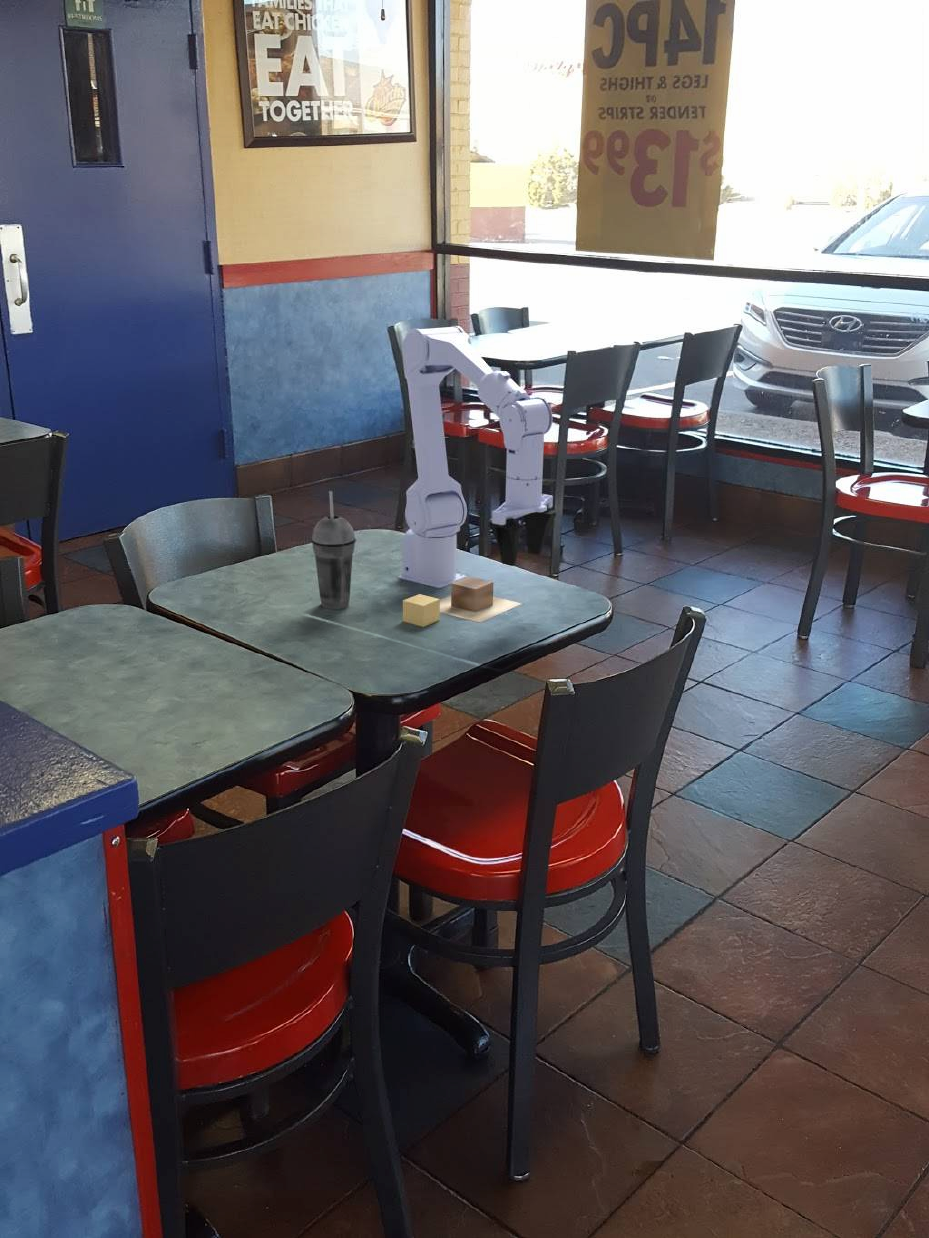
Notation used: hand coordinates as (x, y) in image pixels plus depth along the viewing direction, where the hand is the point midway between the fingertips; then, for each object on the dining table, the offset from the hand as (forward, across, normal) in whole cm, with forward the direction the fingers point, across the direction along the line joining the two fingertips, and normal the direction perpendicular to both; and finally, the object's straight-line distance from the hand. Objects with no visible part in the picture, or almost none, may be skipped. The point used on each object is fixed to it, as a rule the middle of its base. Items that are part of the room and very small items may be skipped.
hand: (521, 558), depth 194 cm
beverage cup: (+10, -15, +27) cm, 32 cm away
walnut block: (+9, -2, +8) cm, 13 cm away
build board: (+10, -2, +8) cm, 13 cm away
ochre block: (+10, -12, +11) cm, 19 cm away
